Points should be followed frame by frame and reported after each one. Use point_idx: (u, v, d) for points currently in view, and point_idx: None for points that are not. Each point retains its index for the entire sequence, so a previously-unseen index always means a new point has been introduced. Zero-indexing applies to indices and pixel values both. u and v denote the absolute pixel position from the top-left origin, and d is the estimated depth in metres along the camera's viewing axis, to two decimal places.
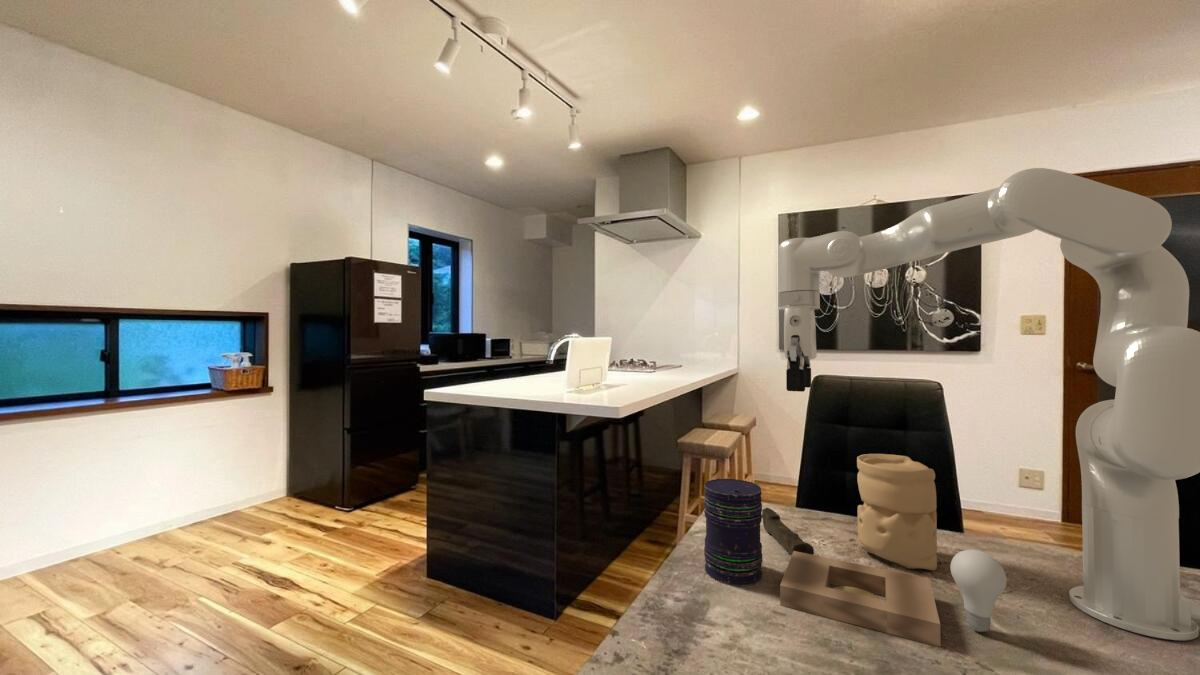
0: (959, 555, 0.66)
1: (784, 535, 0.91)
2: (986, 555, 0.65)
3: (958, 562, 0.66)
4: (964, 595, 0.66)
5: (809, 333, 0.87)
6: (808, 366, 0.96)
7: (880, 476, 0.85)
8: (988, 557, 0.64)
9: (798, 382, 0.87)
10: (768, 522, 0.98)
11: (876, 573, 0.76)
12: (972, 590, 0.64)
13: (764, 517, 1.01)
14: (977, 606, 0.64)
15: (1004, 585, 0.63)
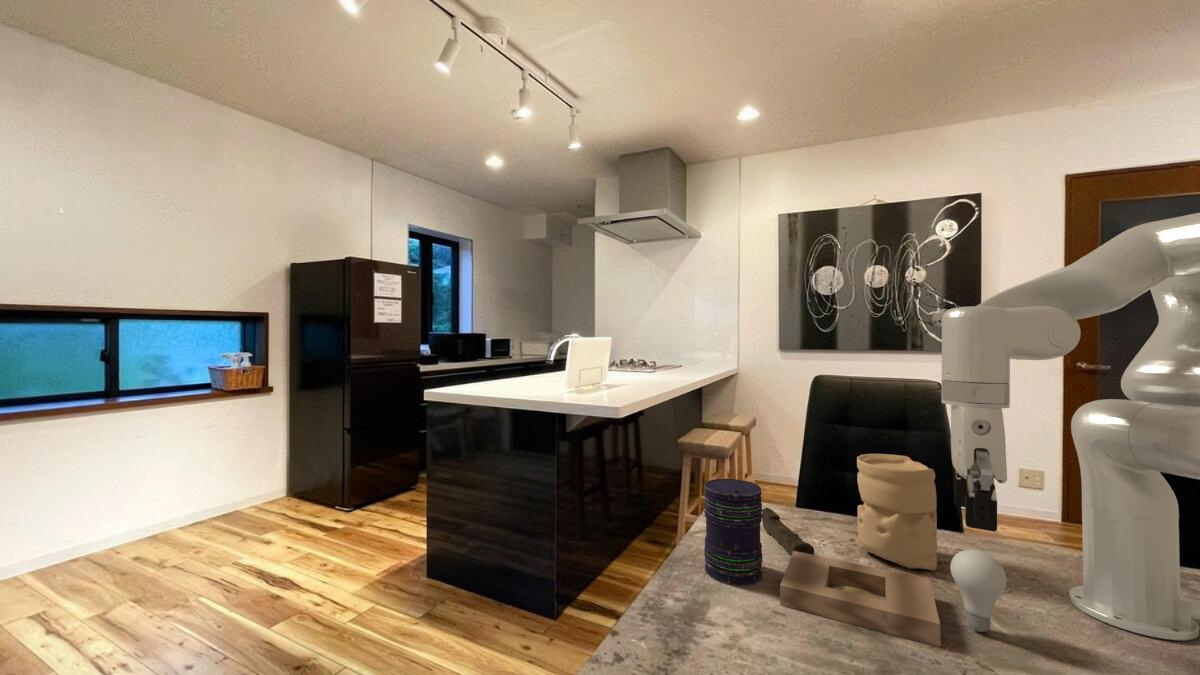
0: (959, 555, 0.66)
1: (784, 535, 0.91)
2: (986, 555, 0.65)
3: (958, 562, 0.66)
4: (964, 595, 0.66)
5: (1004, 447, 0.61)
6: None
7: (880, 476, 0.85)
8: (988, 557, 0.64)
9: (988, 518, 0.60)
10: (768, 522, 0.98)
11: (876, 573, 0.76)
12: (972, 590, 0.64)
13: (764, 517, 1.01)
14: (977, 606, 0.64)
15: (1004, 585, 0.63)
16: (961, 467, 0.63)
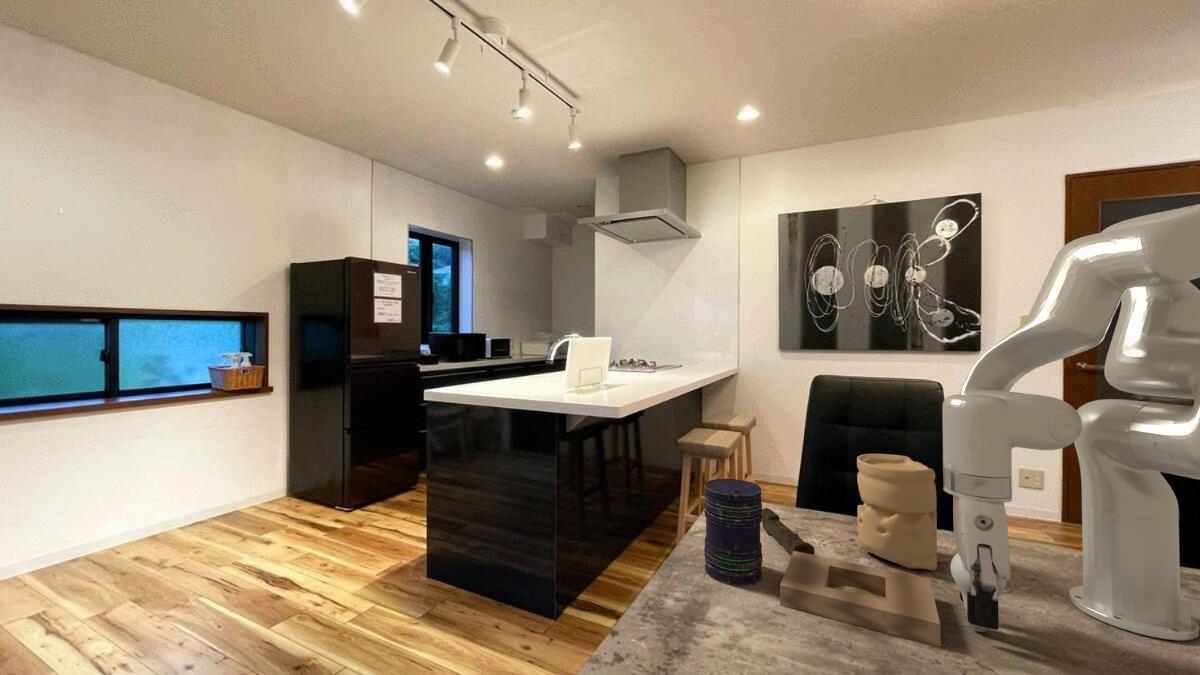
0: None
1: (784, 535, 0.91)
2: None
3: (958, 562, 0.66)
4: (963, 595, 0.66)
5: (1007, 544, 0.60)
6: None
7: (880, 476, 0.85)
8: None
9: (990, 617, 0.62)
10: (768, 522, 0.98)
11: (876, 573, 0.76)
12: None
13: (763, 517, 1.01)
14: None
15: (1004, 585, 0.63)
16: (964, 561, 0.63)
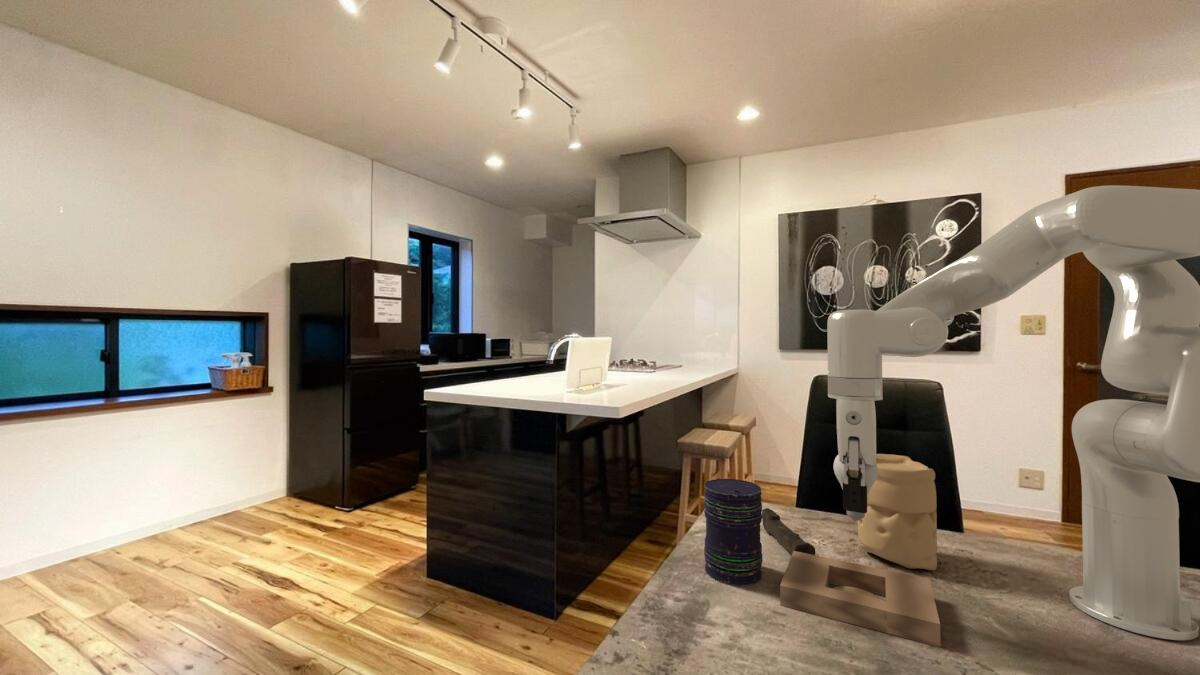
0: None
1: (785, 535, 0.91)
2: None
3: (838, 459, 0.73)
4: (842, 488, 0.73)
5: (872, 435, 0.68)
6: None
7: (880, 476, 0.85)
8: None
9: (859, 502, 0.69)
10: (768, 523, 0.98)
11: (876, 573, 0.76)
12: None
13: (764, 517, 1.01)
14: None
15: (874, 475, 0.71)
16: None
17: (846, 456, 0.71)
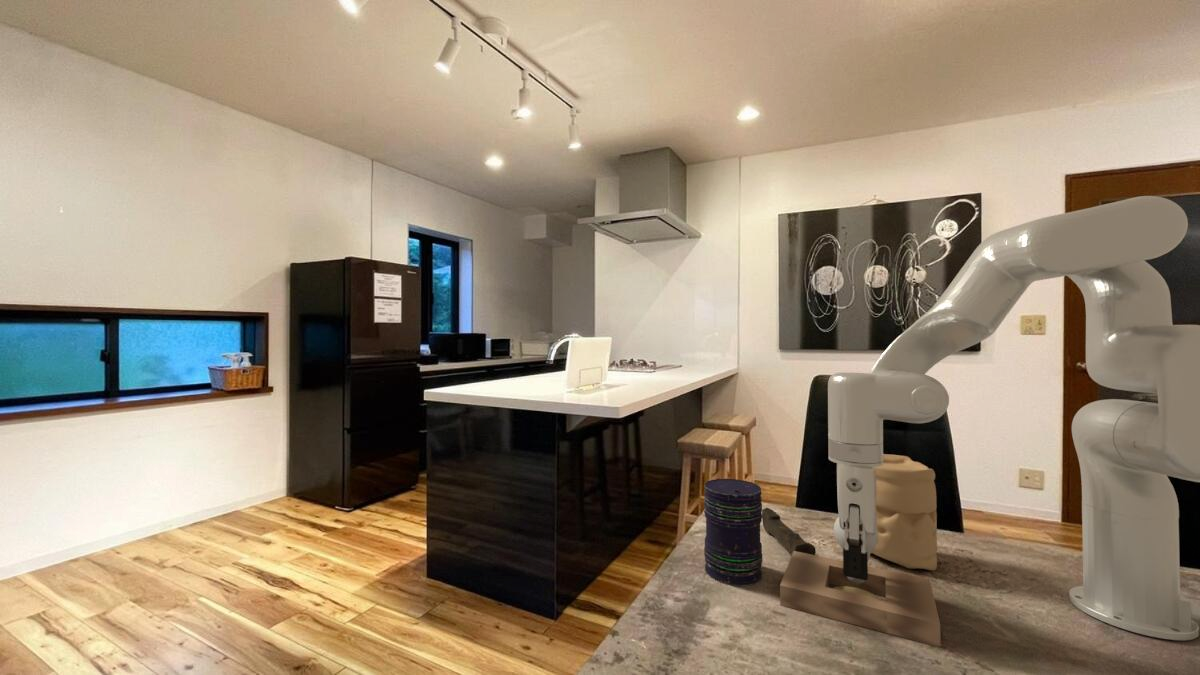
0: None
1: (785, 535, 0.91)
2: None
3: (838, 522, 0.73)
4: None
5: (873, 503, 0.68)
6: None
7: (880, 476, 0.85)
8: None
9: (859, 569, 0.69)
10: (768, 522, 0.98)
11: (876, 573, 0.76)
12: None
13: (764, 517, 1.01)
14: None
15: (874, 541, 0.71)
16: (839, 520, 0.70)
17: (846, 521, 0.71)
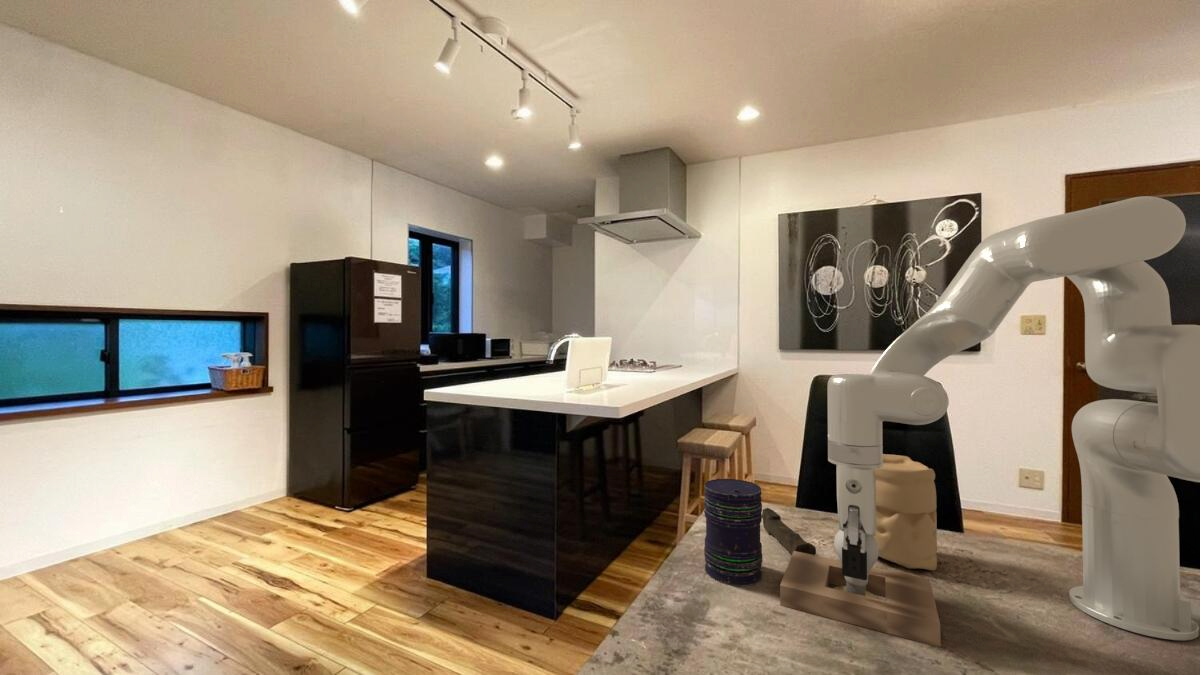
0: (840, 531, 0.74)
1: (786, 535, 0.91)
2: None
3: (838, 537, 0.73)
4: None
5: (872, 505, 0.68)
6: None
7: (880, 476, 0.85)
8: None
9: (858, 569, 0.68)
10: (769, 522, 0.98)
11: (876, 573, 0.76)
12: None
13: (764, 517, 1.01)
14: None
15: (875, 557, 0.70)
16: None
17: None
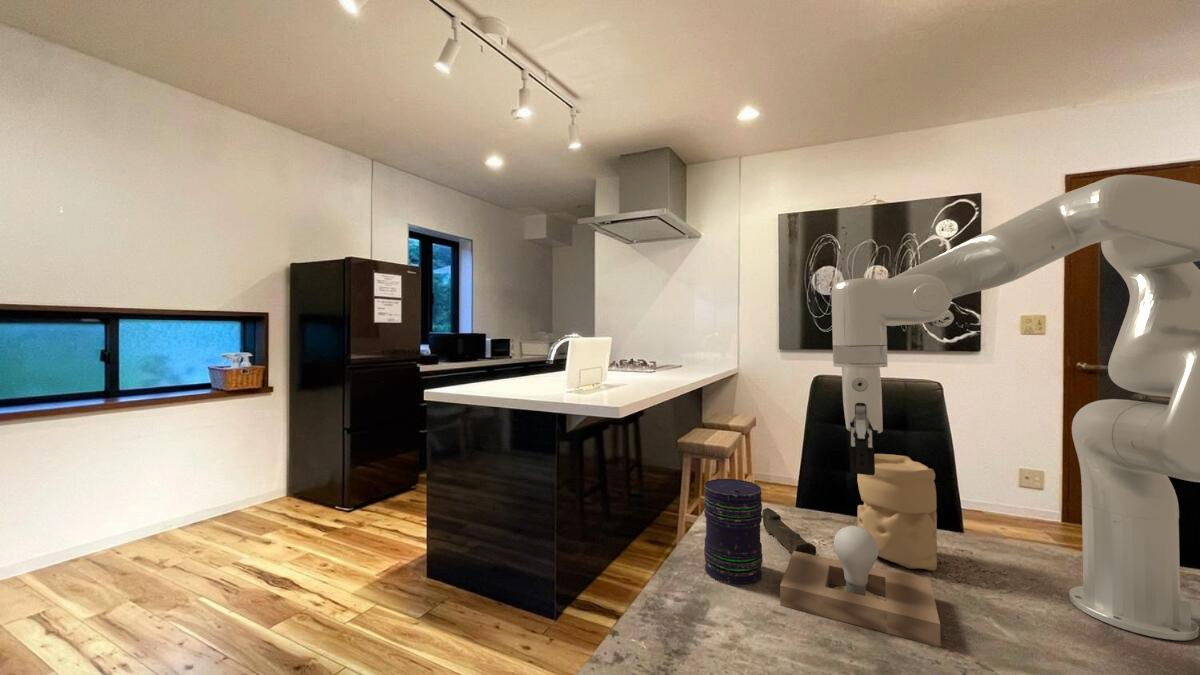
0: (840, 531, 0.74)
1: (786, 535, 0.91)
2: (862, 530, 0.72)
3: (838, 537, 0.73)
4: (843, 566, 0.73)
5: (879, 401, 0.69)
6: None
7: (880, 476, 0.85)
8: (863, 532, 0.72)
9: (866, 464, 0.69)
10: (769, 522, 0.98)
11: (876, 573, 0.76)
12: (847, 561, 0.71)
13: (764, 517, 1.01)
14: (852, 576, 0.72)
15: (874, 556, 0.70)
16: (845, 421, 0.71)
17: None
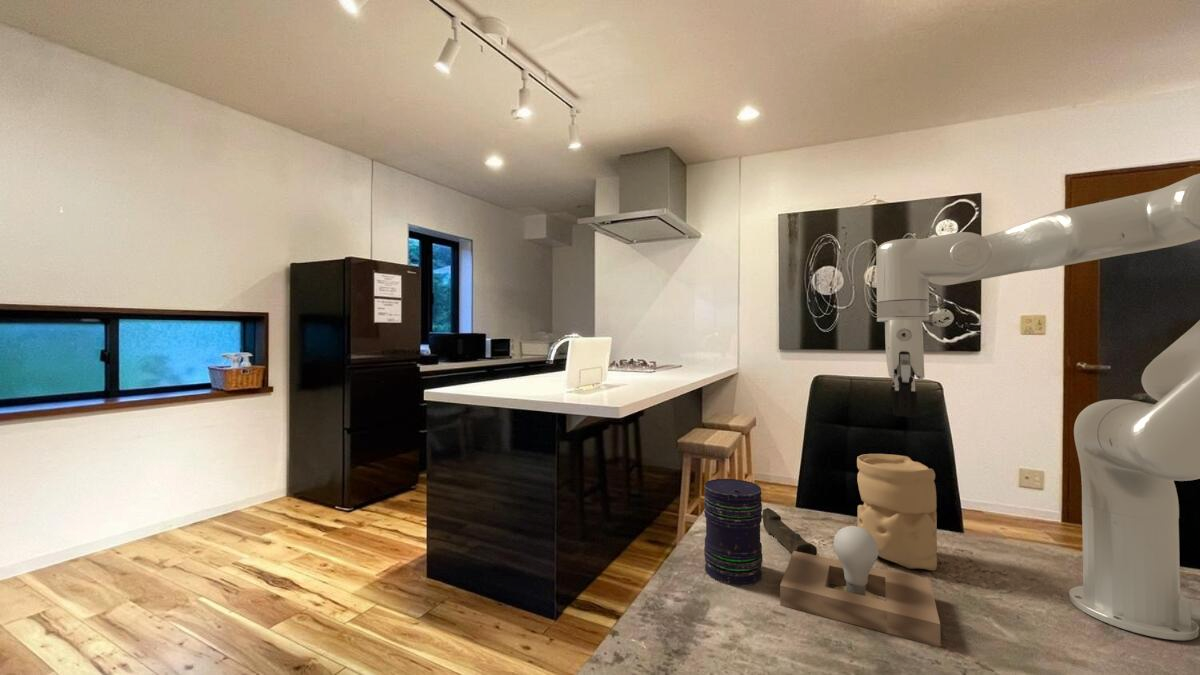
0: (840, 531, 0.74)
1: (786, 536, 0.91)
2: (862, 530, 0.72)
3: (838, 537, 0.73)
4: (843, 566, 0.73)
5: (922, 349, 0.75)
6: None
7: (880, 476, 0.85)
8: (863, 532, 0.72)
9: (909, 406, 0.75)
10: (769, 523, 0.98)
11: (876, 573, 0.76)
12: (847, 561, 0.71)
13: (765, 517, 1.01)
14: (852, 576, 0.72)
15: (874, 556, 0.70)
16: (889, 369, 0.78)
17: None
